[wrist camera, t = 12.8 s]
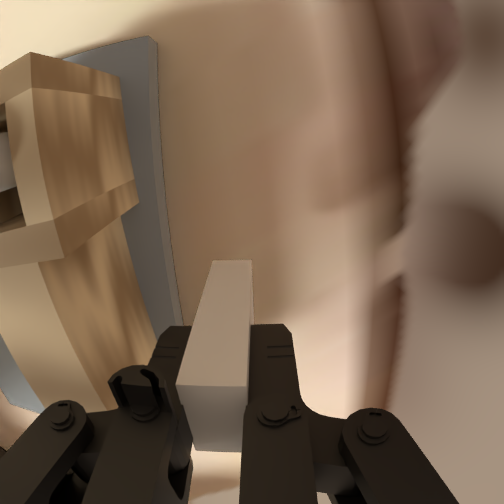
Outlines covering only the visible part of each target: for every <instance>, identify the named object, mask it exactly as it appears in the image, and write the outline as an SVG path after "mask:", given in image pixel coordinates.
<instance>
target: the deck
mask: <svg viewBox="0 0 504 504" xmlns="http://www.w3.org/2000/svg"><path fill="white" fill-rule="evenodd" d="M61 60H65V61H69V62H72V63H76V64H79V65H83V66H86V67H89V68H93V69H96V70H99V71H102V72H106V73H109V74H112V75H115V76H118V77H119V78H120V87H121V96H122V104H123V111H124V118H125V125H126V132H127V138H128V144H129V150H130V156H131V162H132V168H133V173H134V178H135V183H136V188H137V193H138V198H139V203H138V204H137V205H135V206H134V207H132V208H131V209H129V210H128V211H127V212H125V213H124V214H122V215H121V216H120V217H121V221H122V225H123V229H124V233H125V237H126V241H127V245H128V249H129V252H130V256H131V260H132V263H133V267H134V270H135V274H136V277H137V281H138V284H139V287H140V291H141V294H142V297H143V300H144V304H145V307H146V310H147V313H148V316H149V319H150V322H151V325H152V328H153V331H154V334H155V337H156V339H157V341H158V339H159V336H160V335H161V334H162V333H163V332H164V331H165V330H166V329H167V328H168V327H169V326H184V325H183V319H182V313H181V308H180V302H179V295H178V289H177V283H176V276H175V269H174V262H173V255H172V248H171V240H170V232H169V224H168V215H167V206H166V197H165V186H164V176H163V164H162V151H161V137H160V120H159V99H158V62H157V42H155V41H154V40H153V39H152V38H151V37H149V36H145V37H140V38H135V39H131V40H126V41H122V42H118V43H114V44H110V45H106V46H103V47H99V48H96V49H92V50H89V51H86V52H82V53H79V54H76V55H73V56H70V57H67V58H64V59H61ZM16 186H17V185H16V180H15V175H14V169H13V164H12V158H11V151H10V145H9V137H8V132H2V133H0V192H2V191H5V190H7V189H10V188H13V187H16ZM0 389H1V390H2V392H3V393H4V395H5V397H6V398H7V400H8V401H9V403H10V404H12V405H15V406H18V407H21V408H24V409H27V410H30V411H33V412H37V413H40V414H41V413H42V412H43V411H44V410H45V407H44V406H43V405H42V403H41V402H40V400H39V399H38V397H37V396H36V394H35V393H34V391H33V390H32V388H31V387H30V385H29V383H28V382H27V380H26V379H25V377H24V375H23V374H22V372H21V370H20V369H19V367H18V365H17V364H16V362H15V360H14V358H13V356H12V355H11V353H10V351H9V349H8V347H7V345H6V344H5V342H4V340H3V338H2V336H1V334H0Z"/></svg>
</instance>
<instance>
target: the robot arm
mask: <svg viewBox="0 0 504 504" xmlns="http://www.w3.org/2000/svg"><path fill="white" fill-rule="evenodd" d="M107 383H108V385H109V387H110V389H111V392H112V394H113V396H114V398H115V400H116V403H117V405H118V408H117V409H113V410H109V411H100V412H90V413H86V411H85V409H84V407H83V406H82V405H80V404H79V403H78V402H76V401H72V400H60V401H58V402H55V403H52V404H51V405H50V406H48V407H47V408H46V409H45V410H44V411H43V412H42V413H41V414H40V415H39V416H38V417H37V418H36V420H35V421H34V422H33V423H32V424H31V425H30V426H29V427H28V428H27V430H26V431H25V432H24V433H23V434H22V435H21V436H20V437H19V439H18V440H17V441H16V442H15V443H14V444H13V445H12V447H11V448H10V449H9V450H8V451H7V452H5V451H4V450H3V449H2V448H0V504H188V497H189V491H190V484H191V478H192V471H193V462H192V459H191V456H190V454H191V448H192V442H193V444H194V447H195V450H197V451H214V452H242V455H241V475H240V495H239V504H318V501H317V492H322V493H327V495H328V497H329V499H330V501H331V503H332V504H459V503H458V501H457V500H456V499H455V497H454V496H453V494H452V493H451V492H450V490H449V489H448V487H447V486H446V484H445V483H444V482H443V480H442V479H441V478H440V476H439V474H438V473H437V472H436V470H435V469H434V467H433V466H432V465H431V463H430V462H429V460H428V459H427V458H426V456H425V455H424V454H423V452H422V451H421V449H420V448H419V447H418V445H417V444H416V442H415V441H414V440H413V438H412V437H411V436H410V434H409V433H408V431H407V430H406V429H405V427H404V426H403V425H402V423H401V422H400V420H398V419H397V418H396V417H395V416H394V415H393V414H392V413H390V412H388V411H385V410H383V409H377V408H366V409H361V410H358V411H356V412H355V413H353V414H351V415H350V416H349V417H348V418H347V419H340V418H333V417H328V416H324V415H320V414H318V413H316V412H314V411H312V410H311V409H310V408H308V407H307V406H306V405H305V403H304V402H303V400H302V398H301V395H300V389H299V382H298V375H297V368H296V361H295V354H294V348H293V340H292V333H291V332H290V331H289V330H288V329H287V328H286V326H285V325H284V324H260V325H254V304H253V280H252V259H247V260H213V261H212V265H211V268H210V271H209V274H208V277H207V280H206V284H205V287H204V290H203V293H202V296H201V300H200V303H199V306H198V309H197V313H196V316H195V319H194V323H193V326H169V327H168V328H167V329H166V330H165V331H164V332H163V333H162V334H161V335H160V336H159V339H158V341H157V343H156V346H155V348H154V351H153V353H152V358H150V360H149V363H148V365H131V366H128V367H125V368H122V369H120V370H119V371H117V372H116V373H114V374H113V375H112V376H111V377H110V379H109V380H108V381H107Z"/></svg>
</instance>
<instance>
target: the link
mask: <svg viewBox="0 0 504 504" xmlns="http://www.w3.org/2000/svg"><path fill="white" fill-rule="evenodd" d="M2 132H8V137H9V145H10V151H11V158H12V164H13V169H14V175H15V180H16V185H17V186H16V187H13V188H10V189H7V190H5V191H2V192H0V334H1V336H2V338H3V340H4V342H5V344H6V345H7V347H8V349H9V351H10V353H11V355H12V356H13V358H14V360H15V362H16V364H17V365H18V367H19V369H20V370H21V372H22V374H23V375H24V377H25V379H26V380H27V382H28V383H29V385H30V387H31V388H32V390H33V391H34V393H35V394H36V396H37V397H38V399H39V400H40V402H41V403H42V405H43V406H44V407H45V409H46V408H47V407H48V406H50V405H51V404H52V403H55V402H58V401H60V400H72V401H76V402H78V403H79V404H80V405H82V406H83V407H84V409H85V411H86V413H90V412H100V411H109V410H113V409H117V408H118V405H117V403H116V400H115V398H114V396H113V394H112V392H111V389H110V387H109V385H108V383H107V381H108V380H109V379H110V377H111V376H112V375H113V374H114V373H116V372H117V371H119V370H120V369H122V368H125V367H128V366H131V365H148V363H149V360H150V358H152V353H153V351H154V348H155V346H156V343H157V339H156V337H155V334H154V331H153V328H152V325H151V322H150V319H149V316H148V313H147V310H146V307H145V304H144V300H143V297H142V294H141V291H140V287H139V284H138V281H137V277H136V274H135V270H134V267H133V263H132V260H131V256H130V252H129V249H128V245H127V241H126V237H125V233H124V229H123V225H122V221H121V217H120V216H121V215H122V214H124V213H125V212H127V211H128V210H129V209H131V208H132V207H134V206H135V205H137V204H138V203H139V198H138V193H137V188H136V183H135V178H134V173H133V168H132V162H131V156H130V150H129V144H128V138H127V132H126V125H125V118H124V111H123V104H122V96H121V87H120V78H119V77H118V76H115V75H112V74H109V73H106V72H102V71H99V70H96V69H93V68H89V67H86V66H83V65H79V64H76V63H72V62H69V61H65V60H61V59H57V58H53V57H49V56H45V55H41V54H37V53H33V52H29V53H28V54H26V55H24V56H22V57H21V58H19V59H17V60H16V61H14V62H12V63H11V64H9V65H7V66H6V67H4V68H3V69H1V70H0V133H2Z"/></svg>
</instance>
